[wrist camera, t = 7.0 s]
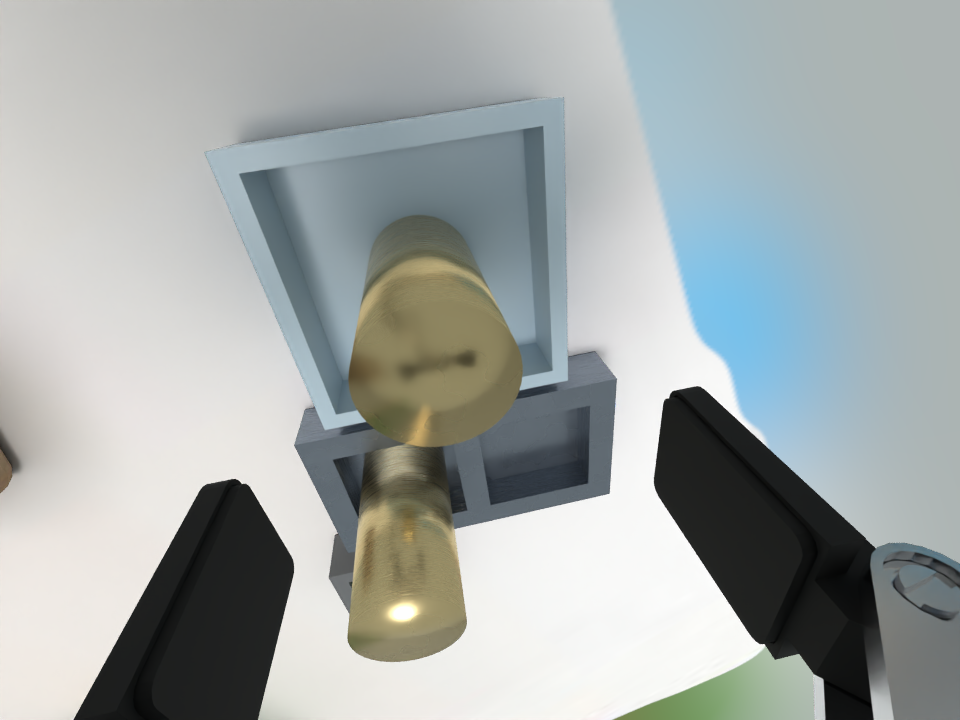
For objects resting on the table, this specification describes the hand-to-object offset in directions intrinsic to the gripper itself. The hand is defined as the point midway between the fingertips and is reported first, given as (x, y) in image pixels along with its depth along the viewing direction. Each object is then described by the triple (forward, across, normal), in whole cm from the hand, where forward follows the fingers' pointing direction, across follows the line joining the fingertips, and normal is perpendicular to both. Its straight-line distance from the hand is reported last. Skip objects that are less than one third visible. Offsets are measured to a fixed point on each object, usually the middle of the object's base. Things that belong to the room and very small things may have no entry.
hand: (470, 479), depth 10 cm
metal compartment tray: (+14, 0, +11) cm, 18 cm away
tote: (+14, +1, -1) cm, 14 cm away
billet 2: (+13, +4, +11) cm, 18 cm away
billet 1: (+13, +1, -1) cm, 13 cm away
